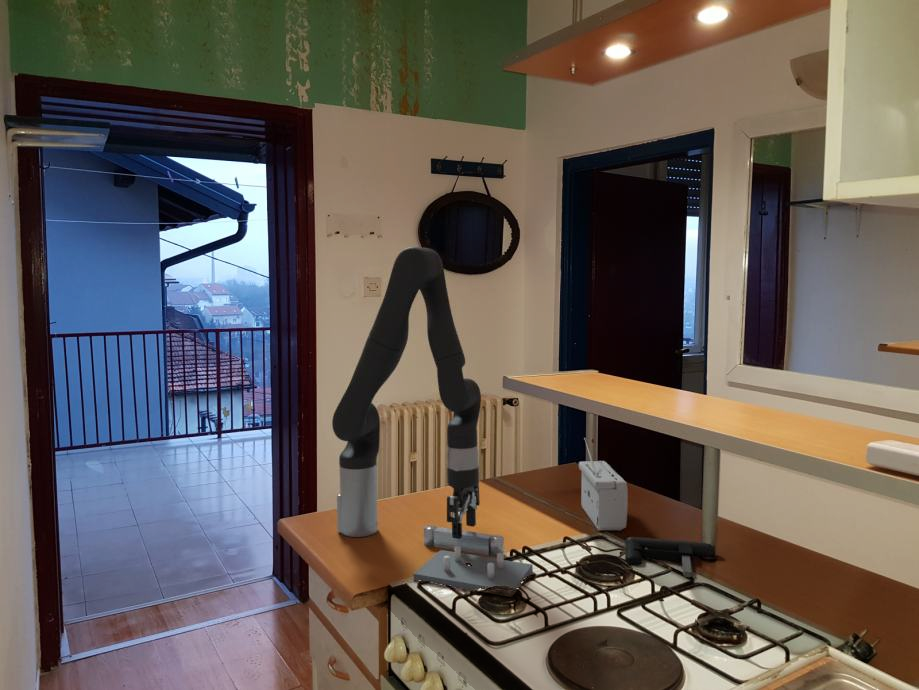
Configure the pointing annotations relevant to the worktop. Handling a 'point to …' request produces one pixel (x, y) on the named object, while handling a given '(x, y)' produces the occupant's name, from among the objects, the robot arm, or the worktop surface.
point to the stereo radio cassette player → (603, 495)
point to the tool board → (472, 571)
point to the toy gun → (666, 551)
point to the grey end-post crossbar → (464, 541)
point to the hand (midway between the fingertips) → (464, 531)
